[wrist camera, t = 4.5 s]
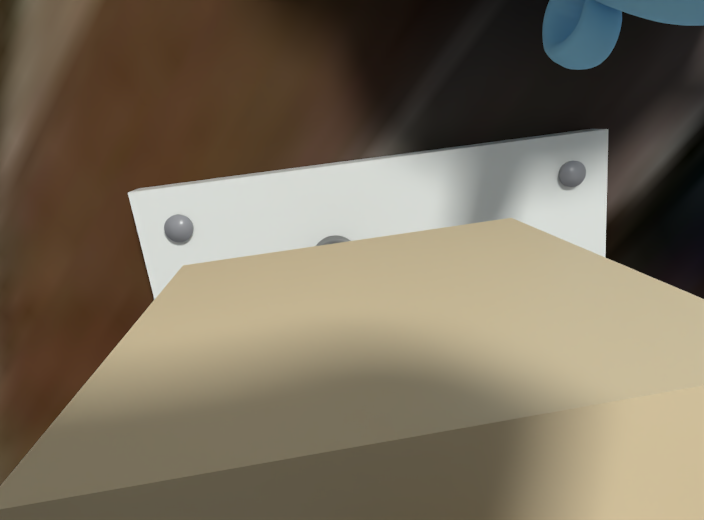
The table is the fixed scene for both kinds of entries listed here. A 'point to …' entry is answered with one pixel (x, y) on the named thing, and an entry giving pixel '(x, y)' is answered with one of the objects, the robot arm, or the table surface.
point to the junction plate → (379, 200)
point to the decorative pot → (604, 26)
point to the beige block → (389, 391)
